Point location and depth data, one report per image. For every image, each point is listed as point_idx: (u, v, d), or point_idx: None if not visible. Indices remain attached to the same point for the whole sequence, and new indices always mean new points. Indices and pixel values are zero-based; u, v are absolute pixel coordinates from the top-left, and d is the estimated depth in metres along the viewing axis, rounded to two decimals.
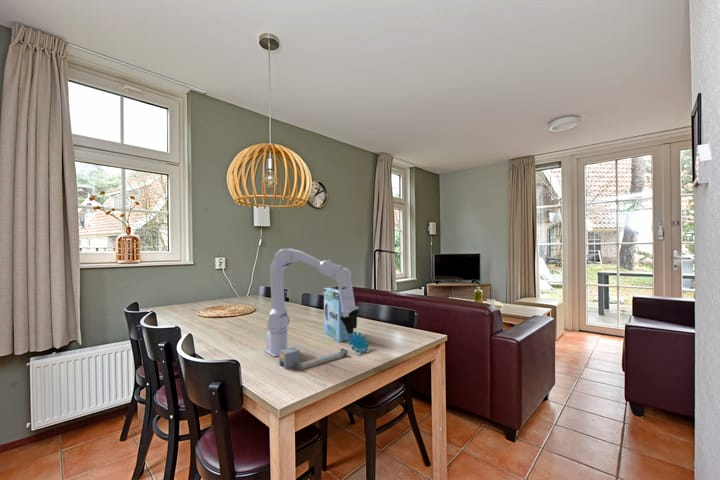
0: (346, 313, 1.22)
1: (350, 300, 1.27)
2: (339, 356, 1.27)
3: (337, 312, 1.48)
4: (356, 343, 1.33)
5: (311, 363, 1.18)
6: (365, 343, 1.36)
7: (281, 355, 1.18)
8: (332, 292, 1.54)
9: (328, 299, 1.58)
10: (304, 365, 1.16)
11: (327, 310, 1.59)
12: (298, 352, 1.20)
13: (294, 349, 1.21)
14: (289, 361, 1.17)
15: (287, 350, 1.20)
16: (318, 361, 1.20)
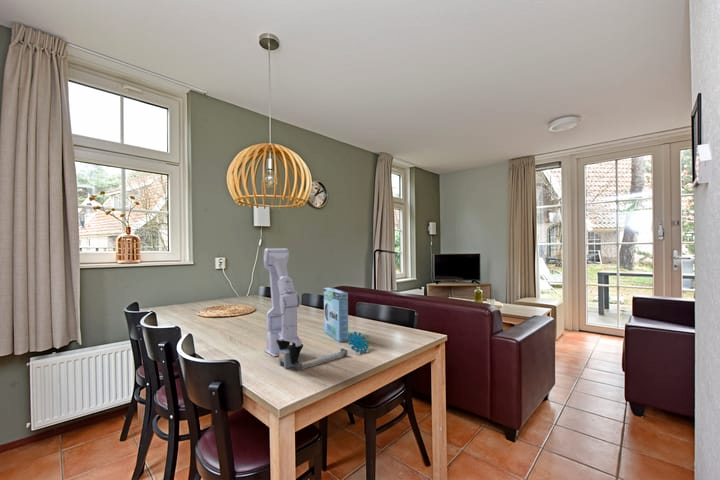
0: None
1: None
2: (339, 356, 1.27)
3: (337, 312, 1.48)
4: (356, 343, 1.33)
5: (311, 363, 1.18)
6: (365, 343, 1.36)
7: (281, 355, 1.18)
8: (332, 292, 1.54)
9: (328, 299, 1.58)
10: (304, 365, 1.16)
11: (327, 310, 1.59)
12: None
13: None
14: (289, 361, 1.17)
15: (287, 350, 1.20)
16: (318, 361, 1.20)
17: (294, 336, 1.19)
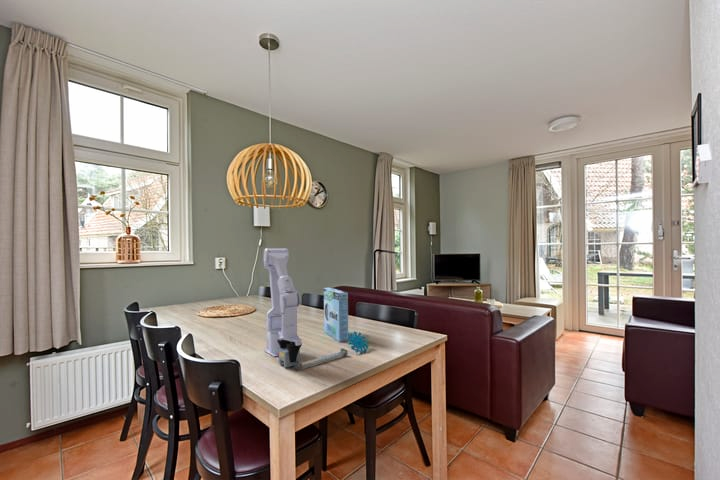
0: None
1: None
2: (339, 356, 1.27)
3: (337, 312, 1.48)
4: (355, 343, 1.34)
5: (311, 363, 1.18)
6: (365, 343, 1.36)
7: (281, 354, 1.18)
8: (332, 292, 1.54)
9: (328, 299, 1.58)
10: (304, 365, 1.16)
11: (327, 310, 1.59)
12: (298, 351, 1.20)
13: None
14: (289, 360, 1.17)
15: (287, 349, 1.20)
16: (318, 361, 1.20)
17: (294, 335, 1.19)
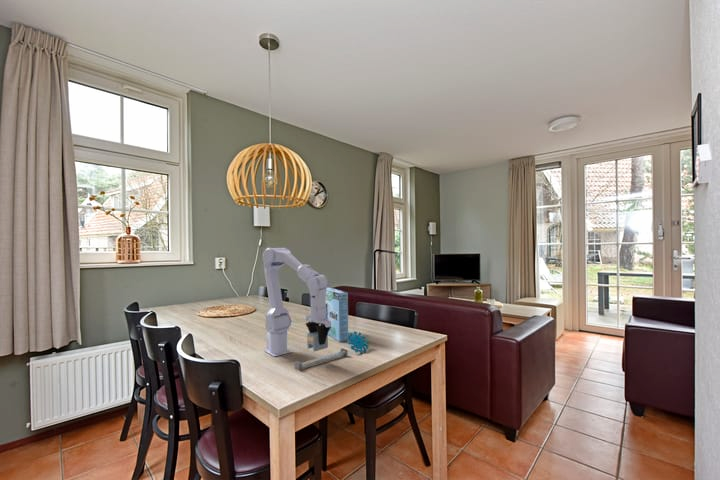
0: None
1: None
2: (339, 356, 1.27)
3: (337, 312, 1.48)
4: (355, 343, 1.34)
5: (311, 363, 1.18)
6: (365, 343, 1.36)
7: (310, 338, 1.19)
8: (332, 292, 1.54)
9: (328, 299, 1.58)
10: (304, 365, 1.16)
11: (327, 310, 1.59)
12: None
13: None
14: (318, 344, 1.19)
15: (316, 333, 1.21)
16: (318, 361, 1.20)
17: (323, 318, 1.20)
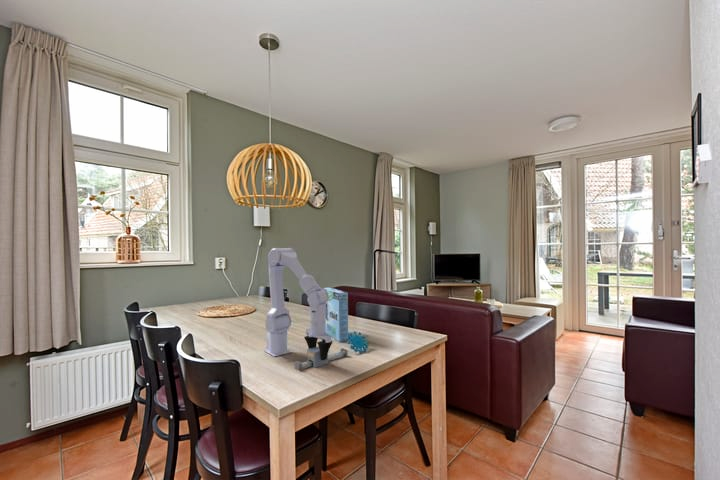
0: None
1: None
2: (339, 356, 1.27)
3: (337, 312, 1.48)
4: (355, 342, 1.34)
5: (311, 363, 1.18)
6: (364, 343, 1.36)
7: (310, 354, 1.20)
8: (332, 292, 1.54)
9: (328, 299, 1.58)
10: (304, 365, 1.16)
11: (327, 310, 1.59)
12: None
13: None
14: (318, 360, 1.19)
15: (316, 349, 1.21)
16: None
17: (323, 332, 1.20)
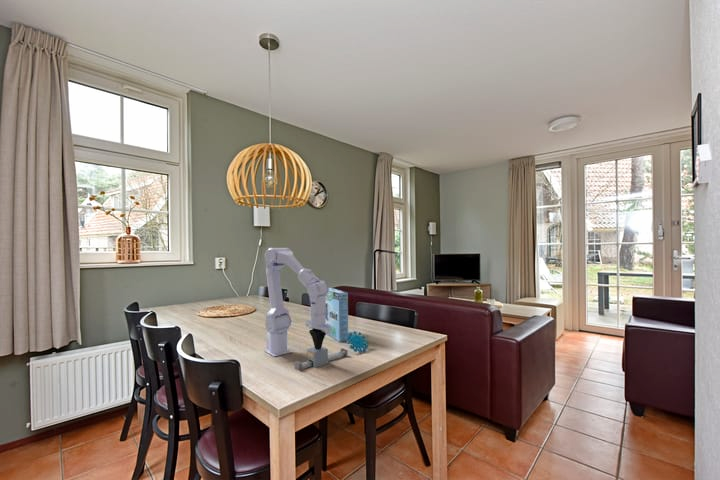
0: None
1: None
2: (339, 356, 1.27)
3: (337, 312, 1.48)
4: (355, 342, 1.34)
5: (311, 363, 1.18)
6: (364, 343, 1.36)
7: (310, 354, 1.20)
8: (332, 292, 1.54)
9: (328, 299, 1.58)
10: (304, 365, 1.16)
11: (327, 310, 1.59)
12: (326, 351, 1.21)
13: (322, 348, 1.22)
14: (318, 360, 1.19)
15: (316, 349, 1.21)
16: None
17: (323, 324, 1.20)
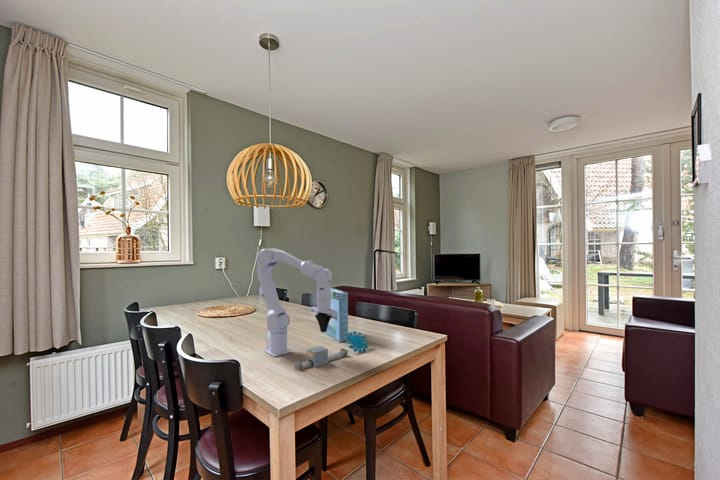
0: None
1: None
2: (339, 356, 1.27)
3: None
4: (354, 342, 1.34)
5: (311, 363, 1.18)
6: (364, 343, 1.37)
7: (310, 354, 1.20)
8: (332, 292, 1.54)
9: None
10: (304, 365, 1.16)
11: None
12: (326, 351, 1.21)
13: (322, 348, 1.22)
14: (318, 360, 1.19)
15: (316, 349, 1.21)
16: None
17: (329, 308, 1.28)
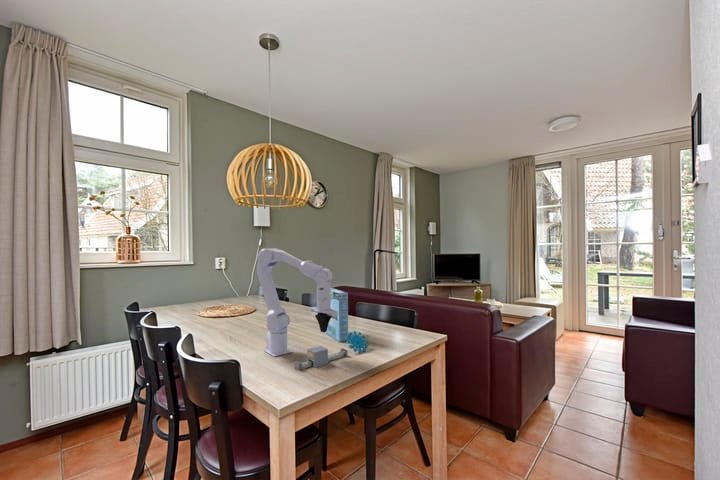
0: None
1: None
2: (339, 356, 1.27)
3: None
4: (354, 342, 1.34)
5: (311, 363, 1.18)
6: (364, 343, 1.37)
7: (310, 354, 1.20)
8: (332, 292, 1.54)
9: None
10: (304, 365, 1.16)
11: None
12: (326, 351, 1.21)
13: (322, 348, 1.22)
14: (318, 360, 1.19)
15: (316, 349, 1.21)
16: None
17: (329, 308, 1.28)
